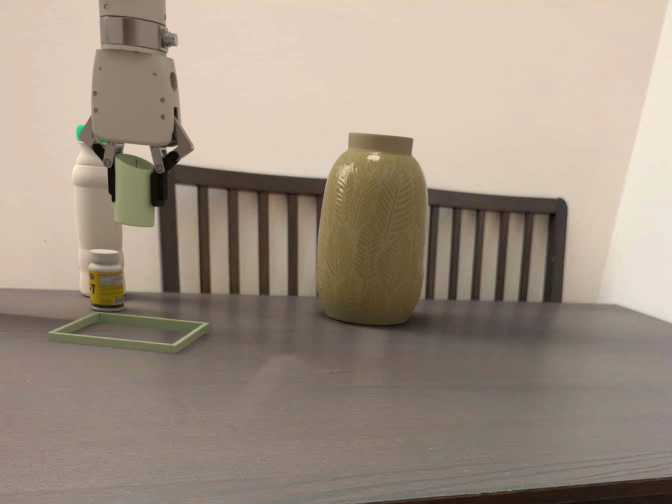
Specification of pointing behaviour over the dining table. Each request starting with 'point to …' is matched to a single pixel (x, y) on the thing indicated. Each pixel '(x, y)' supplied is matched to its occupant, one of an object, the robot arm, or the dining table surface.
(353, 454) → the dining table surface
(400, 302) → the vase
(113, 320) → the tray
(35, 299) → the dining table surface
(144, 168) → the candle
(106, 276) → the supplement bottle
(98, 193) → the water bottle
